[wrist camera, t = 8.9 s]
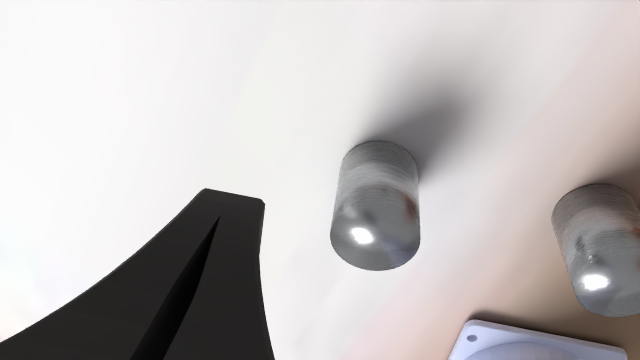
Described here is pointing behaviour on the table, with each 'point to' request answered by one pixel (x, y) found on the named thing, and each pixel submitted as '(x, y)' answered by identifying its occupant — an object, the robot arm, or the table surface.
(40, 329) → the robot arm
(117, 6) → the table surface
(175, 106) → the table surface
